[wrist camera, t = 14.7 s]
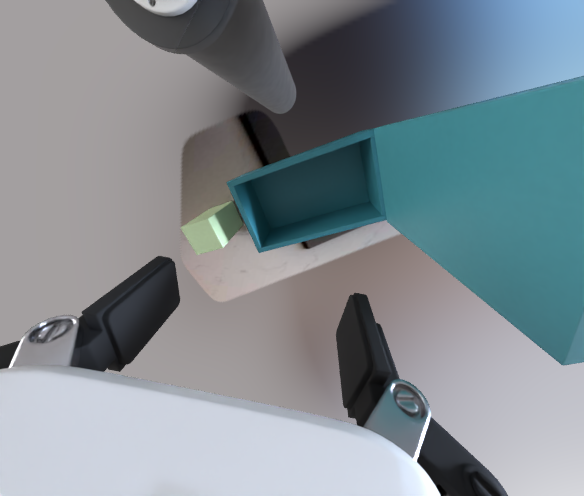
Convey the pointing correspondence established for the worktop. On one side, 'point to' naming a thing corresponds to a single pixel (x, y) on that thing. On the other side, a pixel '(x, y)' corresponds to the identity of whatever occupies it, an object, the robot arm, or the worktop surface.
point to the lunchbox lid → (500, 204)
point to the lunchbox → (312, 193)
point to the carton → (213, 228)
